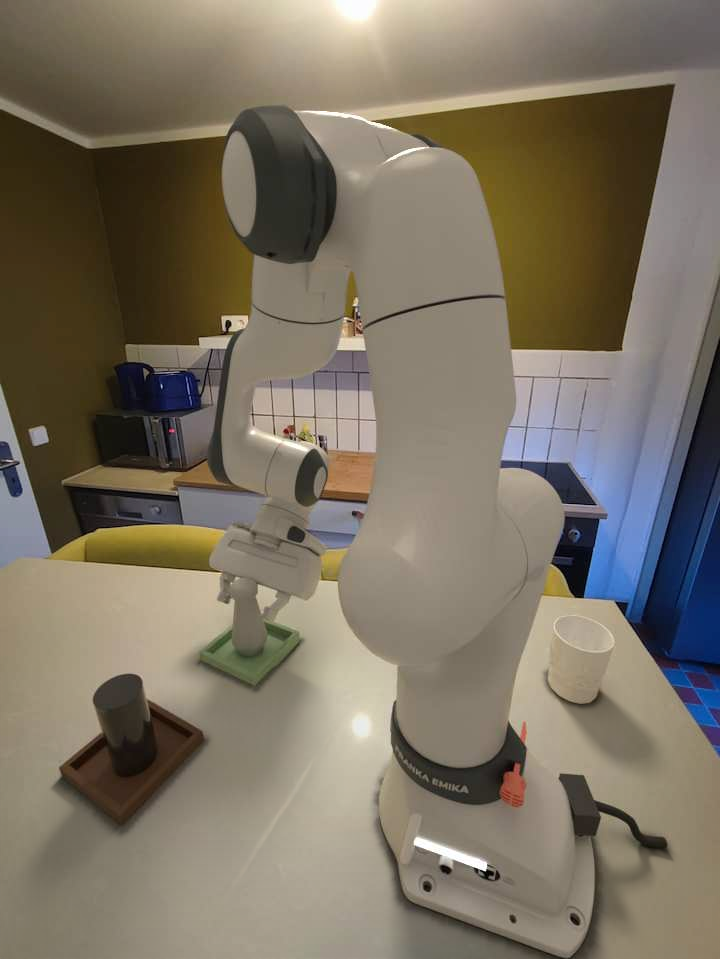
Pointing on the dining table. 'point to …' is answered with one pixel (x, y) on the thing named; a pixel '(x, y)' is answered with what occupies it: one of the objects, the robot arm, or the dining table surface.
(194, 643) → the dining table surface
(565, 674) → the white cup
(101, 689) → the pepper shaker
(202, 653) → the light tray
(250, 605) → the salt shaker
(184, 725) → the dark tray
